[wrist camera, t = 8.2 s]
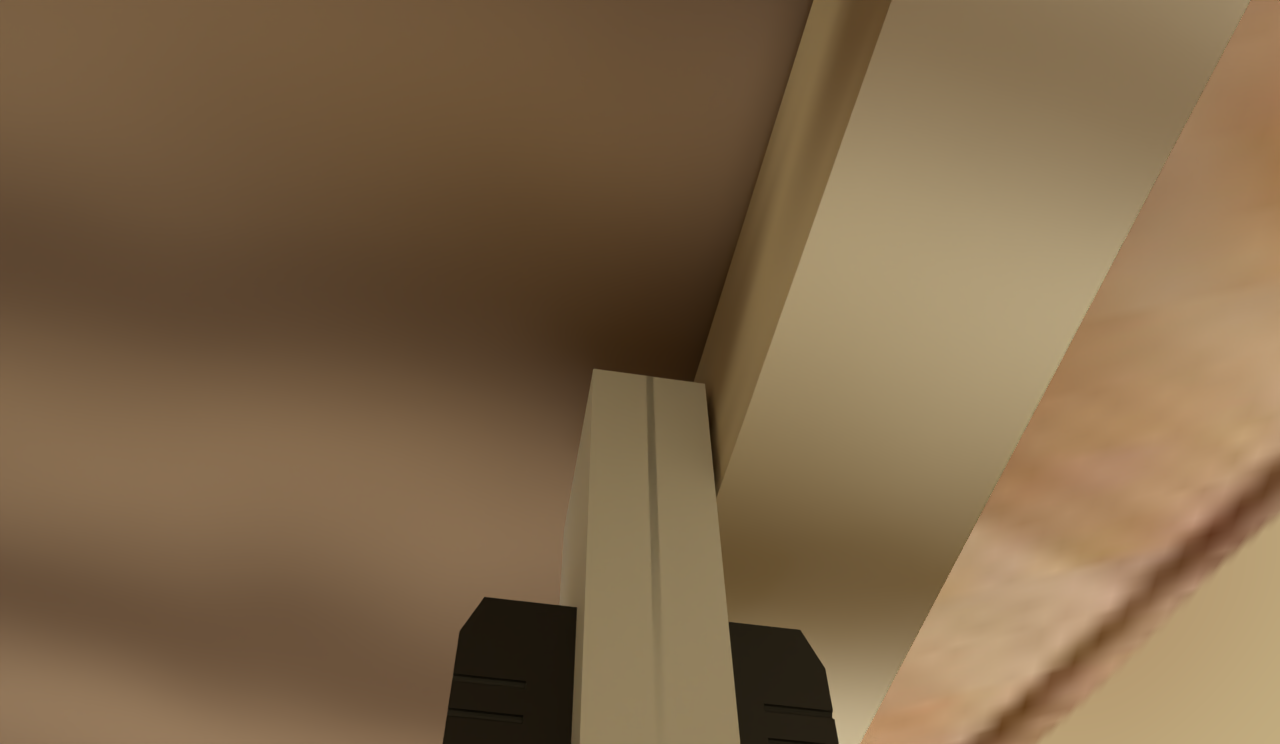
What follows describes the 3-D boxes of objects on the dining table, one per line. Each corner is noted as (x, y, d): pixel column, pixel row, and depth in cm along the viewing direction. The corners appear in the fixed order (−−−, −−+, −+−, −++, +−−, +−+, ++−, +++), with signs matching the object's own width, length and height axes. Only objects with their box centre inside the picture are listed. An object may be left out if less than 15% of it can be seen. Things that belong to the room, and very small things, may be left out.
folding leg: (1033, -741, 10) (1217, -867, 7) (1383, -626, 10) (1712, -693, 7) (562, 783, 21) (549, 996, 18) (734, 806, 22) (751, 1020, 19)
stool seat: (-626, -1103, 10) (-931, -1255, 8) (1297, -653, 12) (1429, -690, 10) (-126, 624, 23) (-200, 732, 21) (787, 723, 25) (801, 830, 23)
